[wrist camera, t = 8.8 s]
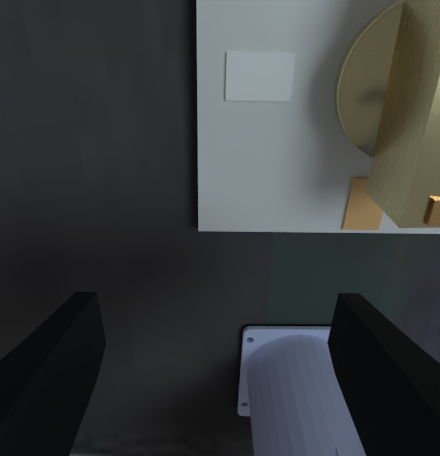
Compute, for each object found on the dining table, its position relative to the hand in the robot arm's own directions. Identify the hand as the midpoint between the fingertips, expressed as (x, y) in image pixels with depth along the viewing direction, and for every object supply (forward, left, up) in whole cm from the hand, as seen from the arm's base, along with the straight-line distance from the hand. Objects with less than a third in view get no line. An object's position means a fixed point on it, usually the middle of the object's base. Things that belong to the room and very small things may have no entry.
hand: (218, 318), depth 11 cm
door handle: (+6, -8, -8) cm, 13 cm away
